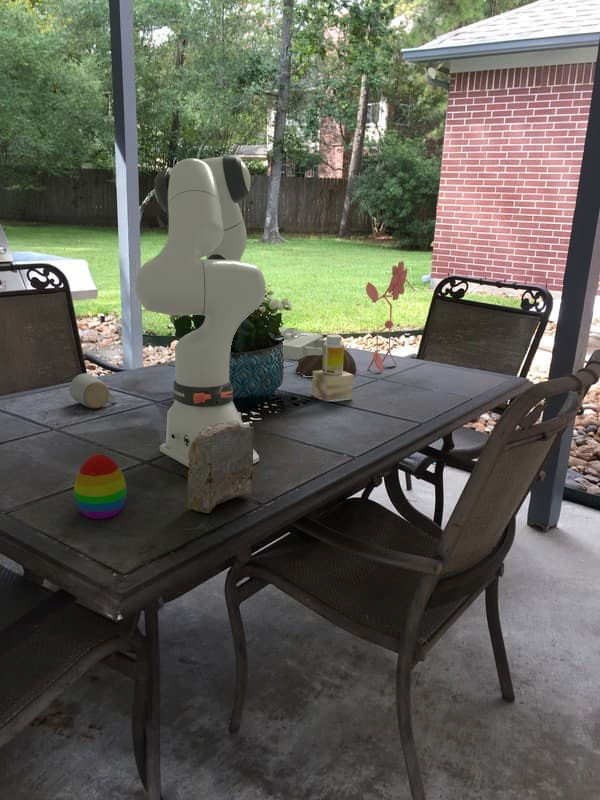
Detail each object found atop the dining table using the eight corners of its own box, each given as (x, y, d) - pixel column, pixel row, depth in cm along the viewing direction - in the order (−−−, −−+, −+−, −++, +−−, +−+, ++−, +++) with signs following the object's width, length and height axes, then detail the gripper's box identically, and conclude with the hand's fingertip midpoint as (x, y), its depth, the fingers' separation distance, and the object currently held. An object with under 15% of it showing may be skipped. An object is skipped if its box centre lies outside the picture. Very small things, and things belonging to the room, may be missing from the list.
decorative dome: (282, 370, 211) (283, 339, 208) (329, 363, 223) (330, 334, 221) (322, 383, 197) (323, 350, 194) (369, 375, 209) (371, 344, 206)
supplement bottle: (347, 373, 179) (348, 336, 176) (331, 376, 175) (333, 338, 172) (333, 369, 183) (334, 333, 180) (317, 372, 179) (319, 335, 177)
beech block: (352, 399, 180) (353, 374, 178) (327, 403, 176) (328, 377, 174) (336, 392, 187) (337, 368, 185) (311, 395, 183) (312, 371, 181)
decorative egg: (133, 503, 113) (131, 448, 110) (117, 524, 105) (114, 466, 102) (86, 500, 113) (83, 445, 111) (67, 521, 106) (63, 463, 103)
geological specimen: (231, 490, 119) (231, 411, 115) (256, 500, 116) (257, 418, 112) (186, 509, 111) (185, 424, 107) (211, 520, 108) (211, 433, 103)
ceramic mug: (84, 412, 162) (83, 381, 160) (69, 404, 167) (68, 374, 165) (123, 405, 169) (123, 376, 167) (108, 398, 174) (107, 370, 172)
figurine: (352, 373, 209) (361, 260, 199) (388, 360, 230) (398, 257, 220) (396, 382, 201) (408, 265, 192) (429, 368, 222) (441, 262, 212)
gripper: (266, 338, 172) (316, 343, 168) (294, 326, 191) (339, 331, 186) (265, 362, 174) (315, 367, 170) (293, 348, 193) (338, 353, 188)
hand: (328, 348), depth 178 cm, fingers open, 8 cm apart
